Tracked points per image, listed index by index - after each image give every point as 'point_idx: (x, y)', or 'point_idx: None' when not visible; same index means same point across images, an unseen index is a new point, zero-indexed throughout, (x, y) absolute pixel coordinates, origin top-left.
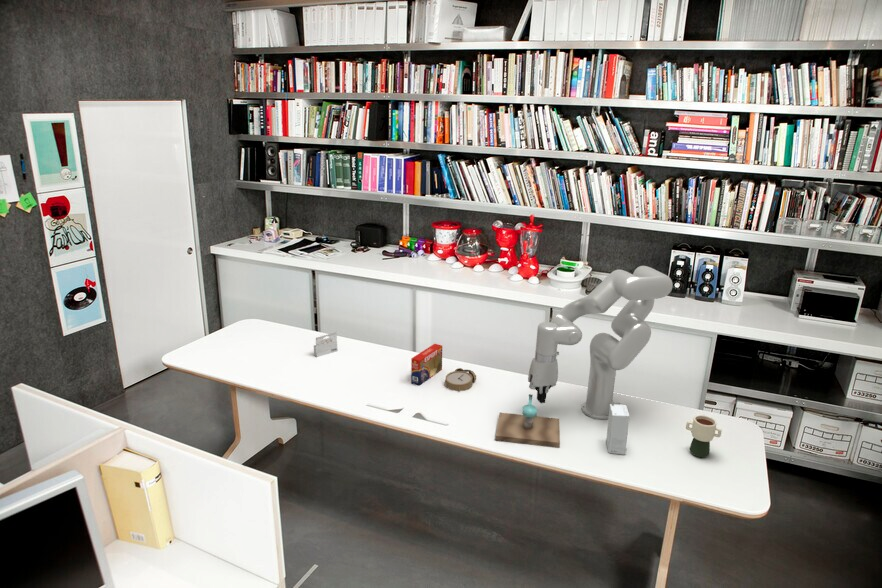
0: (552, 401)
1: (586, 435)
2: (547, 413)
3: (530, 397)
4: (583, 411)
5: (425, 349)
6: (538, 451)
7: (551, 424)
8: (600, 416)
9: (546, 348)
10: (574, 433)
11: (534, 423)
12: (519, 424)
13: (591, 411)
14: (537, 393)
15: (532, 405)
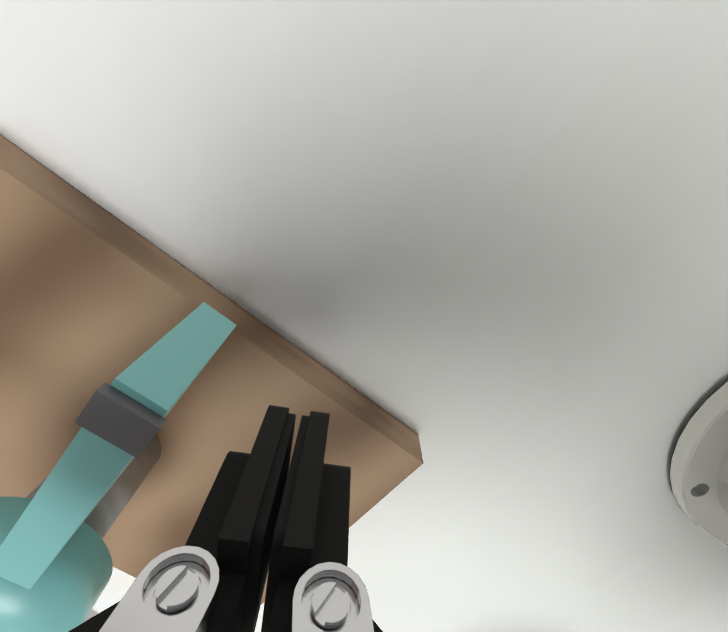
0: (665, 138)
1: (464, 579)
2: (447, 294)
3: (98, 453)
4: (696, 427)
5: None
6: (117, 570)
7: None
8: (713, 532)
9: None
10: (419, 543)
11: (197, 431)
12: (70, 391)
13: (725, 484)
14: (195, 532)
15: (34, 601)
